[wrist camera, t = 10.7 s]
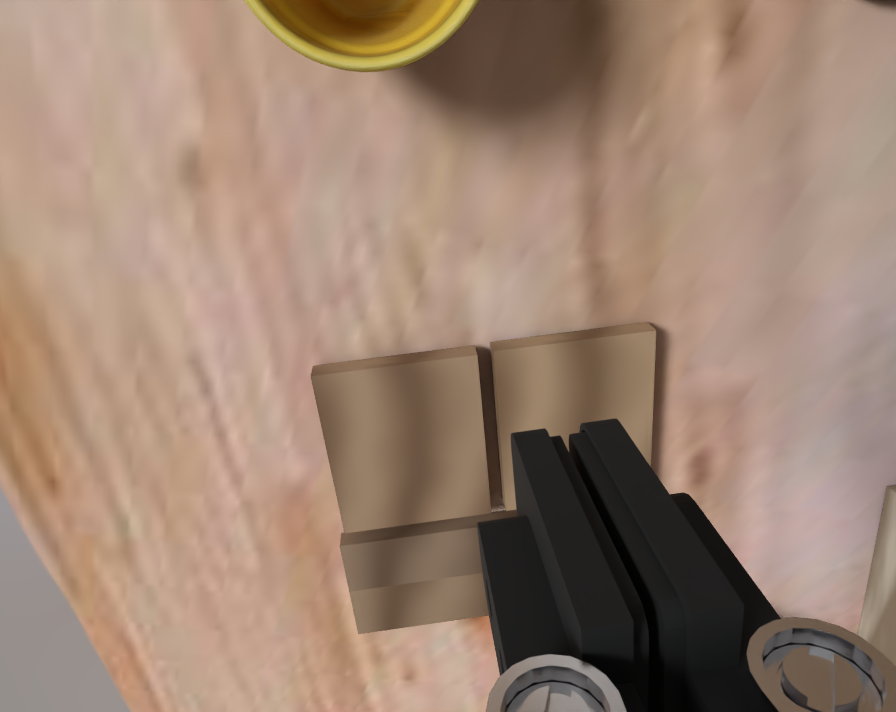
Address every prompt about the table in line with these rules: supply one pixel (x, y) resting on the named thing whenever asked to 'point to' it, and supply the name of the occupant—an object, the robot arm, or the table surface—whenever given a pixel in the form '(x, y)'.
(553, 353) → the plank
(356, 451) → the plank
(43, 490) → the table surface
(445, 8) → the plant pot
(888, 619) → the wooden frame
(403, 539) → the floor strip
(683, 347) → the table surface
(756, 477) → the table surface
